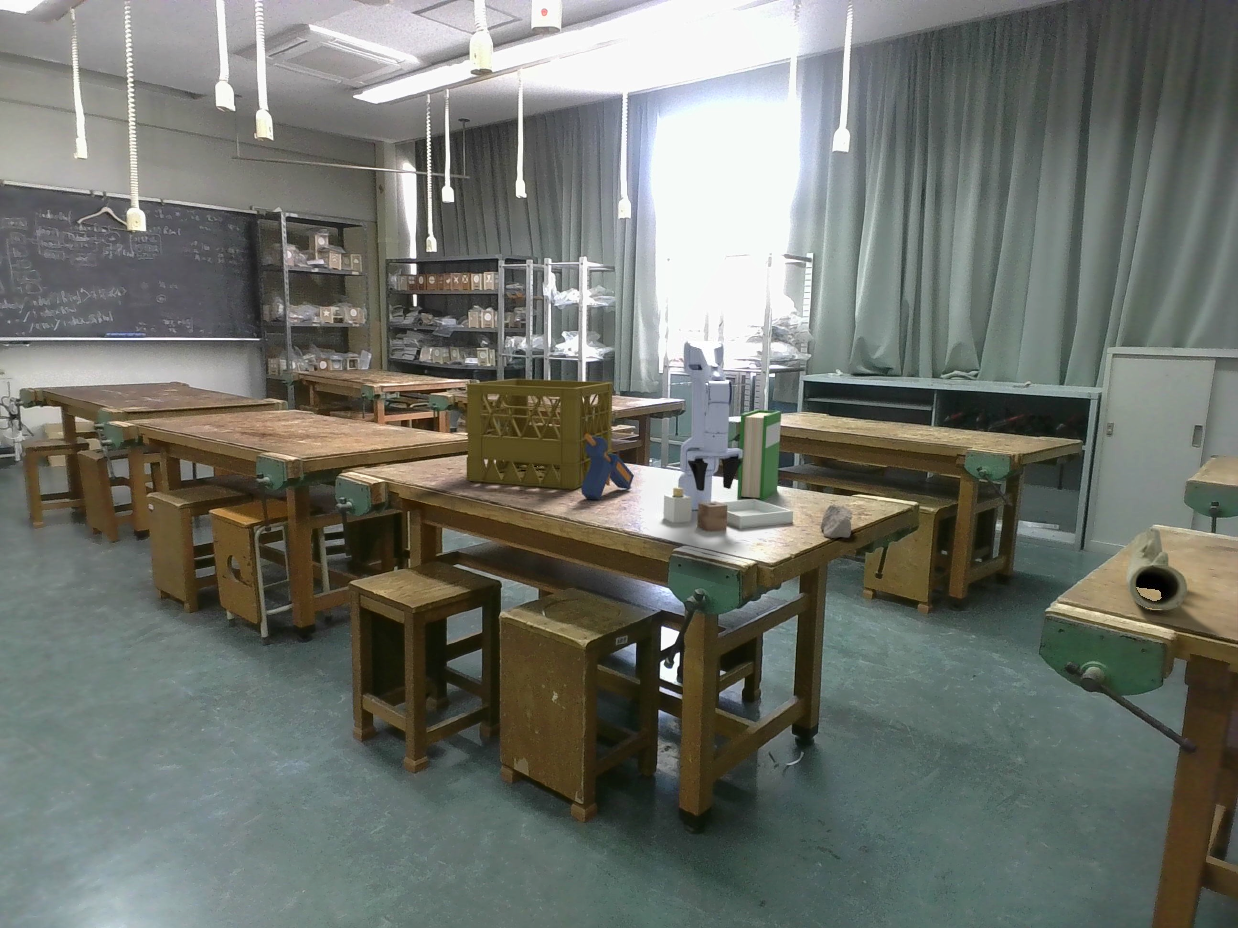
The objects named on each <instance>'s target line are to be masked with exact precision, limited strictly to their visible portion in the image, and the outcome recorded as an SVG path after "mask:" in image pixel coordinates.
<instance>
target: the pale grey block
mask: <svg viewBox="0 0 1238 928" xmlns="http://www.w3.org/2000/svg"><path fill="white" fill-rule="evenodd" d="M672 490H673V491H672V492H673V493H672V494H664V497H663V520H667V521H668V522H671V523H673V524H674V523H684V522H692V510H691V508H692V497H689V496H686V495H683V488H678V486H677V487H673V488H672Z"/></svg>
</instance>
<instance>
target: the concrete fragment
mask: <svg viewBox="0 0 1238 928" xmlns="http://www.w3.org/2000/svg"><path fill="white" fill-rule="evenodd" d="M852 520H853V510H851V509H849V508H847V507H846V506H844V505H836V504H835V503H834V504H829V507H827V509H826V510H825V512H824V515H823V517H822V520H821V524H820V529H821V530H822V531H823V536H824V537H827V538H832V539H837V538H845V539H846V538H850V537H851V534H852Z"/></svg>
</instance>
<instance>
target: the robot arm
mask: <svg viewBox="0 0 1238 928" xmlns="http://www.w3.org/2000/svg"><path fill="white" fill-rule="evenodd" d="M724 351H725V350H724V344H723V342H722V341H700V340H698V341H697V340H696V341H695V340H693V341H692V340H691V341H690V340H686V342H685V343H684V346H683V370H684V373H685V374H687V375H688V376H690V377H689V378H690V381H691V427H690V428H691V429H690V431H691V432H690V433H691V435H690V437H689V438H688V439H686V440H685V441H684V442H683V443H682V444H681V445H680V455H679V467H680V471H681V472H682V473H681V475H680V476H679V478H678V482H677V485H678V486H677V487H678V488H683V495H686V496H689V497H692V508H691V511H698V503H702V502H712V487H713V486H712V484H713V476H714V474H715V473H717V472H718V471H719V466H720V465H719V463H720V462H719V461H721V463H722V464H721V465H722V472H723V474H722V475H723V477H722V483H723V489H724V488H725V489H727V490H731V488H732V485H733V481H734V479H735V476H736V473H737V472H738V470H739V466H740V465H741V463H742V460H741V459H739V458H743V450H741V449H739V448H729V447H728V444H729V424H730V422H729V421H730V419H729V418H730V406H732V402H733V397H734V389H733V388H734V386H733V382H732V380H729V379H727V377H726V374H725V372H724V369H723V368H722V364H723V362H724Z"/></svg>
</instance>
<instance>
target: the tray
mask: <svg viewBox="0 0 1238 928" xmlns="http://www.w3.org/2000/svg"><path fill="white" fill-rule="evenodd" d="M718 502H719V503H722V504H725V505H727V525H728V526H732V527H734V528H737V529H740V530H741V529H749V528H750V529H751V528H757V527H767V526H777V525H784V524H785V525H786V524H787V525H788V524H792V523H794V521H793V520H794V511H793V510H792V509H788V508H784V507H783V506H778V505H775V504H772V503H769V502H766V501H760V499H758V498H749V499H738V500H737V499H736V500H727V501H726V500H725V501H718Z"/></svg>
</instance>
